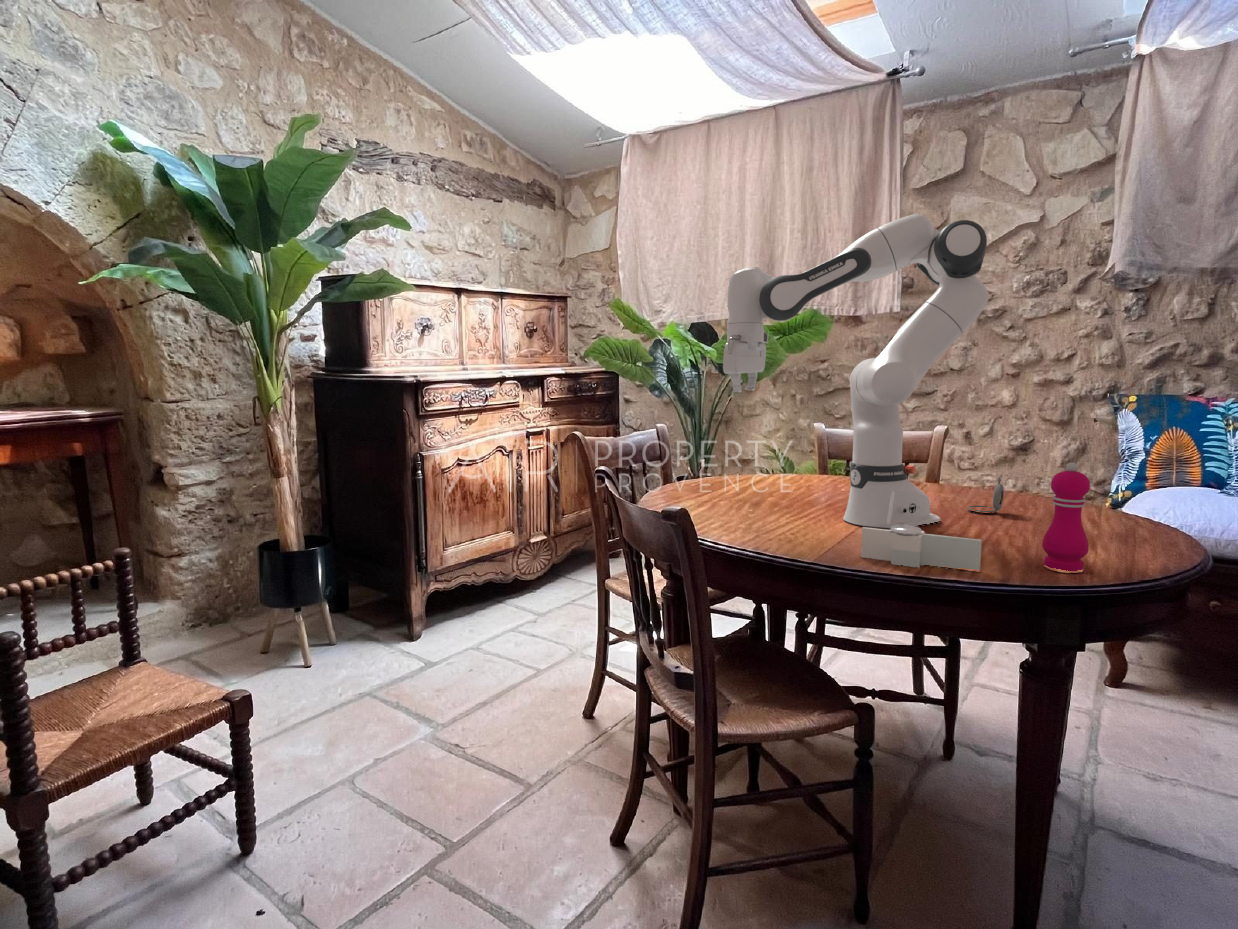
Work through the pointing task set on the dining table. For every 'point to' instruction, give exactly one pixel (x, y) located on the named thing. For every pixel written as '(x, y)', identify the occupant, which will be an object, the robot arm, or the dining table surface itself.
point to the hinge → (921, 549)
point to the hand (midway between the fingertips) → (744, 391)
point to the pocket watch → (995, 498)
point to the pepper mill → (1067, 521)
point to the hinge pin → (906, 530)
